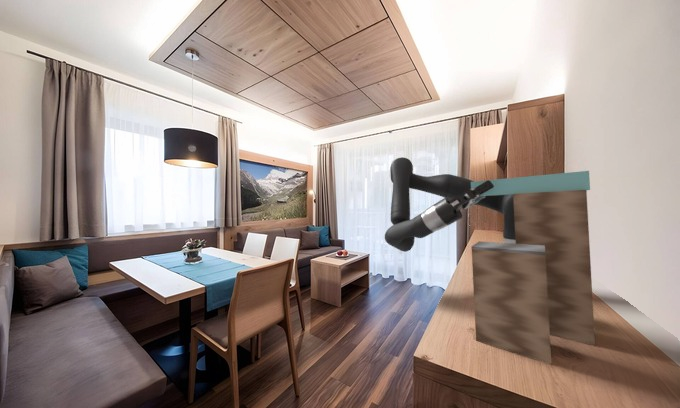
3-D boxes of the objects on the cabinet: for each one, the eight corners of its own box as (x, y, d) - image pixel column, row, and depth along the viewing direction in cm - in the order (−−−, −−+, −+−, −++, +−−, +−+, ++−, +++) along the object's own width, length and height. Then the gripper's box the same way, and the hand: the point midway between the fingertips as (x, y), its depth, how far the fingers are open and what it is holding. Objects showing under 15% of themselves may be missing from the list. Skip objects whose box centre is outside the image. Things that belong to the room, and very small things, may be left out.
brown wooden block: (476, 340, 49) (471, 246, 49) (482, 325, 55) (478, 241, 55) (551, 364, 41) (545, 252, 41) (549, 343, 47) (544, 245, 47)
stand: (519, 326, 54) (513, 193, 54) (521, 315, 59) (515, 194, 59) (595, 345, 46) (586, 189, 46) (589, 330, 51) (581, 190, 51)
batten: (471, 196, 62) (470, 181, 62) (475, 196, 65) (474, 182, 65) (590, 189, 47) (589, 170, 47) (587, 190, 50) (586, 172, 50)
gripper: (425, 205, 65) (480, 170, 55) (441, 204, 75) (490, 174, 66) (440, 227, 62) (500, 195, 53) (454, 223, 73) (506, 195, 63)
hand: (494, 184), depth 59 cm, fingers open, 8 cm apart
